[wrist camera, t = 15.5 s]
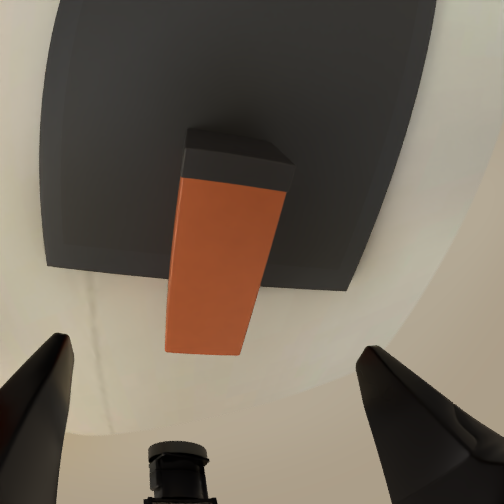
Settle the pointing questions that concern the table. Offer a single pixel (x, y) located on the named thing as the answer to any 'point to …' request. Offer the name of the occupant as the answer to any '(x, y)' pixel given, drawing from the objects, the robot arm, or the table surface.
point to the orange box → (222, 238)
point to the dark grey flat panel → (224, 122)
